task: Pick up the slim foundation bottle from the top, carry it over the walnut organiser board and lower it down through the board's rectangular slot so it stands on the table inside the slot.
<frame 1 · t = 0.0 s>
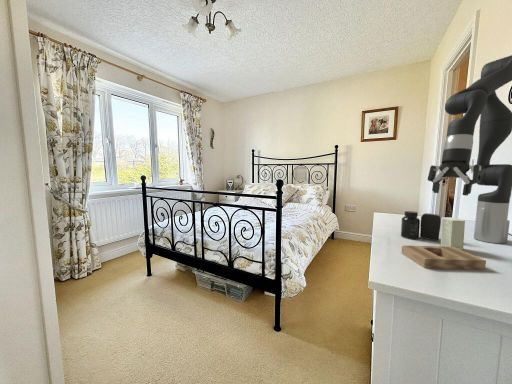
hand: (449, 194, 77), 22 cm above the table, tool pointing down, fingers open, 8 cm apart
battery charger: (429, 238, 97), on the table
supplement bottle: (409, 237, 98), on the table
organiser board: (439, 260, 73), on the table
skincare box: (450, 249, 84), on the table
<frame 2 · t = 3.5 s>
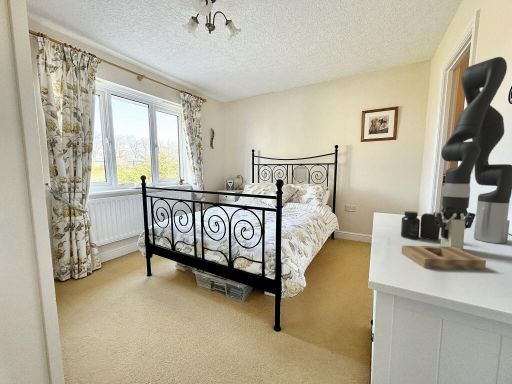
hand: (451, 238, 83), 4 cm above the table, tool pointing down, fingers closed on skincare box, 4 cm apart
skincare box: (450, 249, 84), on the table, touching gripper
everything else where it was.
when the fingers open (5 cm above the table, at t = 9.5 s): skincare box stays where it is, resting in organiser board.
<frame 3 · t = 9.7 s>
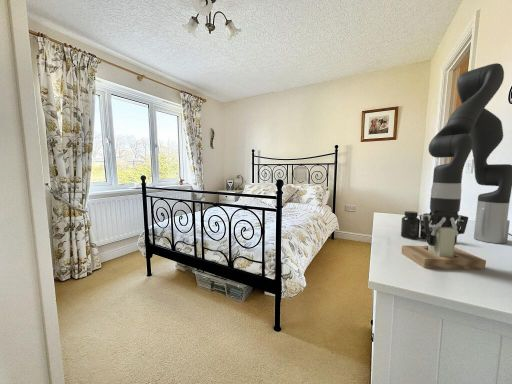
hand: (440, 245, 72), 6 cm above the table, tool pointing down, fingers open, 6 cm apart
skincare box: (439, 261, 73), resting in organiser board
everything else where it was.
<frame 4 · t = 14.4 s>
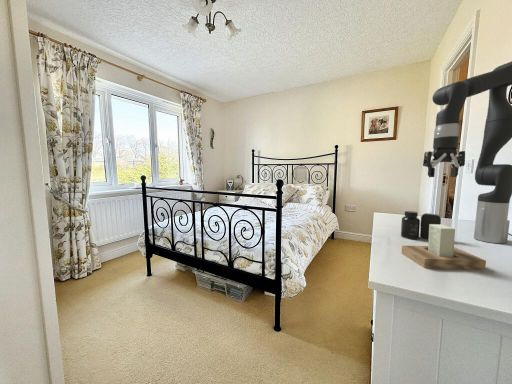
hand: (442, 177, 87), 28 cm above the table, tool pointing down, fingers open, 8 cm apart
nothing on the table moved.
at the end: skincare box 0.1 cm off-centre on the organiser board, point 0.0 cm above the organiser board's base; skincare box tilted 0°; the gripper is holding nothing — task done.
